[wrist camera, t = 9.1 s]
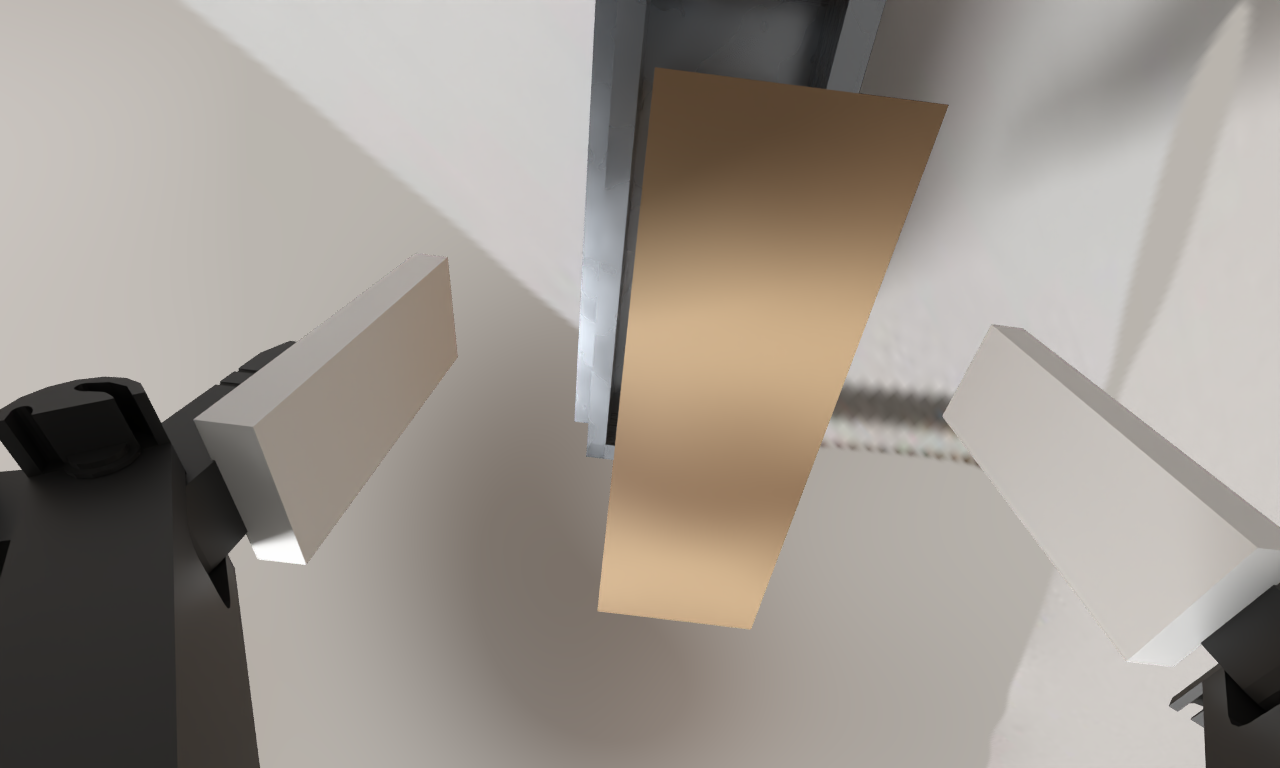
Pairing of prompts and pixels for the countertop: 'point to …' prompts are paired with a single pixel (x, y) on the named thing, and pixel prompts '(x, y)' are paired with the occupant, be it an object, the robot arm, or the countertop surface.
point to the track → (619, 120)
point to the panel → (744, 325)
